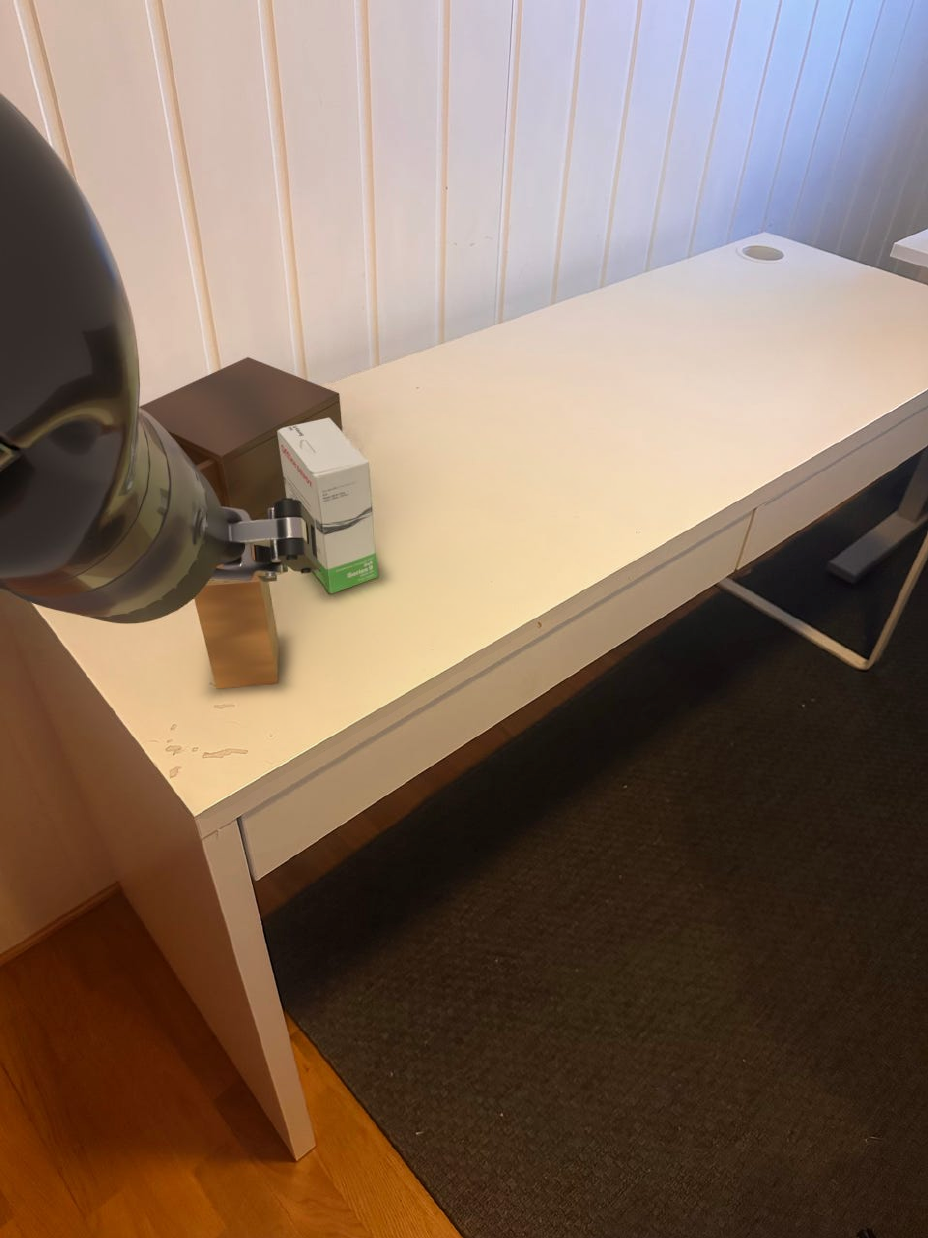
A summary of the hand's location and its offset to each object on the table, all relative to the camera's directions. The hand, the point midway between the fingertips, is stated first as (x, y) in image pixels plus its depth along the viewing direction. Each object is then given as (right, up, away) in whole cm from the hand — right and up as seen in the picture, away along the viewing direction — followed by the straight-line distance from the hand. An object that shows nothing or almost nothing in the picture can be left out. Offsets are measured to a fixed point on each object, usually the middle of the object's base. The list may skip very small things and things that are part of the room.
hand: (189, 568), depth 48 cm
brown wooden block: (-2, -6, +21) cm, 22 cm away
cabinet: (-7, +11, +41) cm, 42 cm away
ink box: (+3, +2, +31) cm, 31 cm away
